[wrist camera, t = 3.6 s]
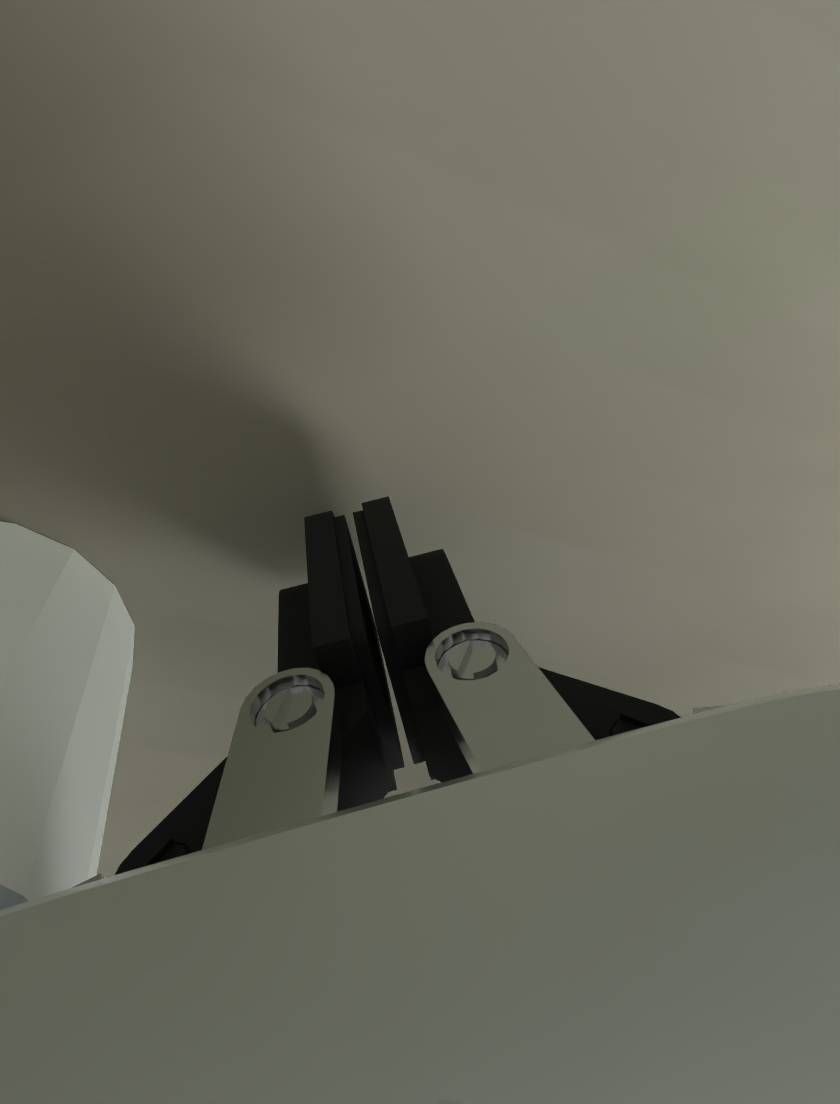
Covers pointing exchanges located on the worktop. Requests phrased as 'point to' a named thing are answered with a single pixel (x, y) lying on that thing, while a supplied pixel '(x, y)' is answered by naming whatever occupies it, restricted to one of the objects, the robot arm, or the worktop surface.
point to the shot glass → (56, 712)
